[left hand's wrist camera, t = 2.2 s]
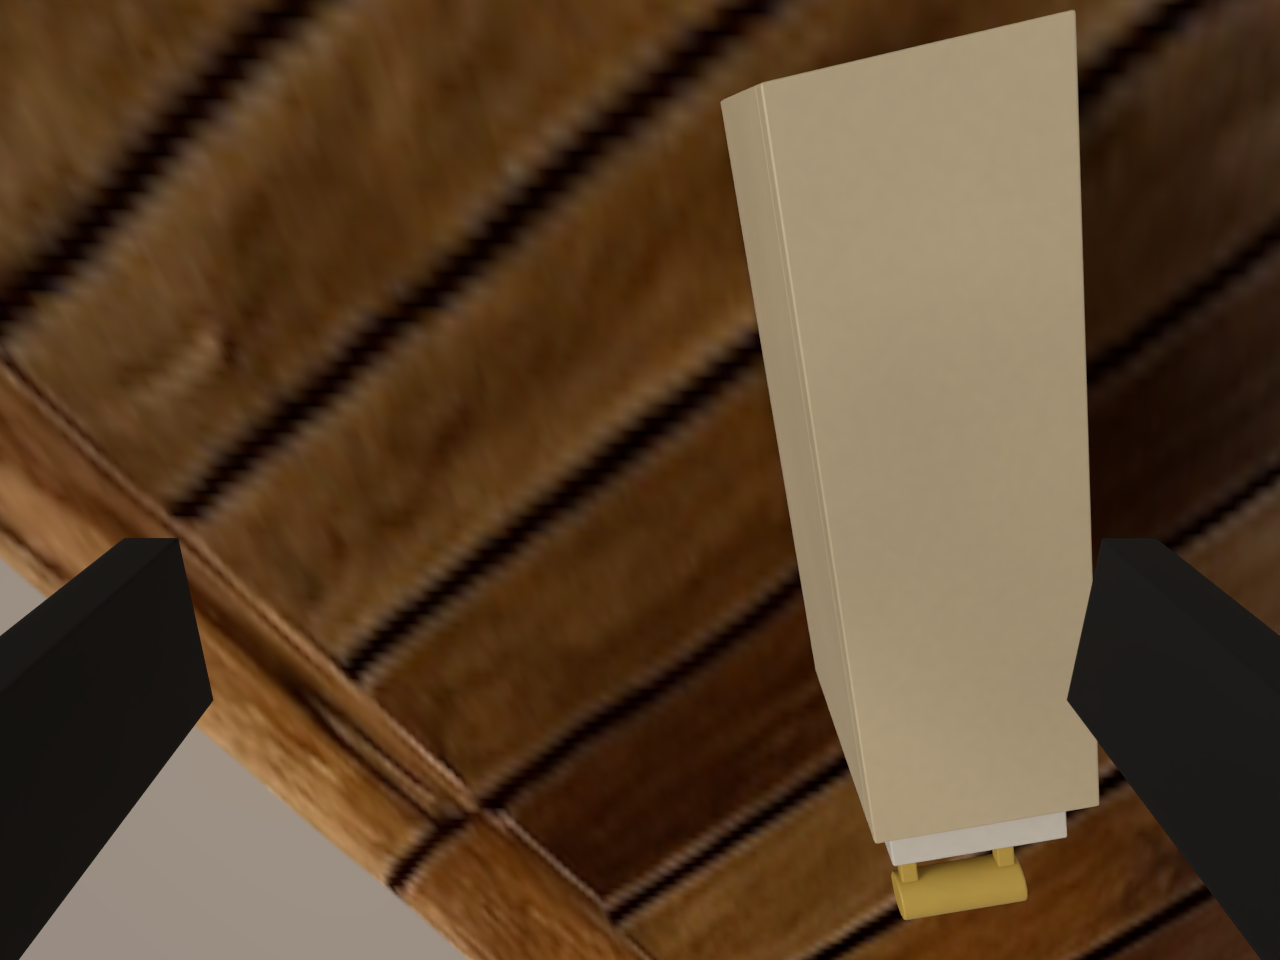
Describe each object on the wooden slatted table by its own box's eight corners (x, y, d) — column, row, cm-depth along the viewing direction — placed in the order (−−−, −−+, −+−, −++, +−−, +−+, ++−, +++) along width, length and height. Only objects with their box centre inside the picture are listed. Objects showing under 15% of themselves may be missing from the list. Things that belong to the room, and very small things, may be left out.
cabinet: (983, 639, 35) (1100, 806, 26) (815, 670, 35) (875, 844, 26) (934, 50, 27) (1077, 8, 18) (719, 100, 27) (760, 82, 19)
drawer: (990, 807, 37) (1074, 964, 30) (858, 830, 37) (911, 990, 30) (933, 162, 27) (1036, 169, 20) (759, 201, 28) (801, 222, 21)
